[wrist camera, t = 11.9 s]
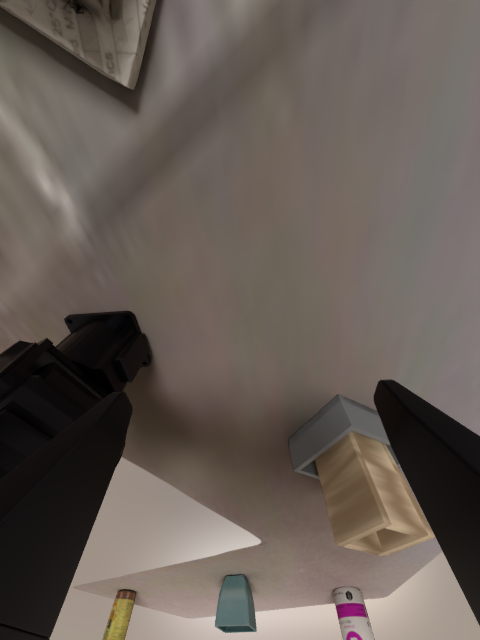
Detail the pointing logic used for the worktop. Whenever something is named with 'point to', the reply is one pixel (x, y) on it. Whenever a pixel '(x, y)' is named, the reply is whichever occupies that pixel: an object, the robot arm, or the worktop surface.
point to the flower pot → (235, 606)
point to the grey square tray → (333, 432)
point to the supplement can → (352, 614)
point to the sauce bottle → (120, 616)
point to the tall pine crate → (369, 497)
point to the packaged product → (93, 31)
